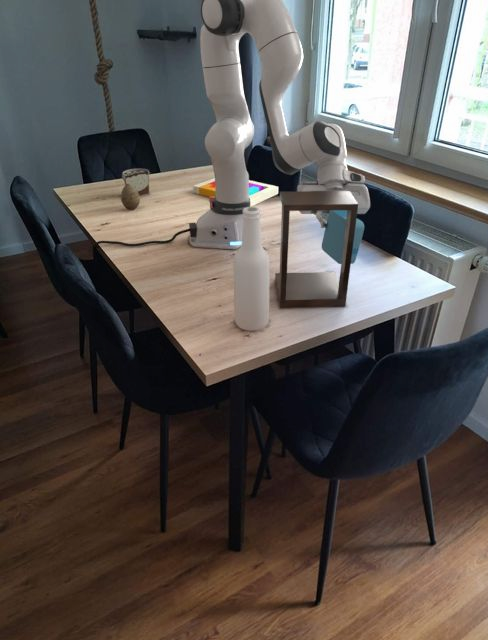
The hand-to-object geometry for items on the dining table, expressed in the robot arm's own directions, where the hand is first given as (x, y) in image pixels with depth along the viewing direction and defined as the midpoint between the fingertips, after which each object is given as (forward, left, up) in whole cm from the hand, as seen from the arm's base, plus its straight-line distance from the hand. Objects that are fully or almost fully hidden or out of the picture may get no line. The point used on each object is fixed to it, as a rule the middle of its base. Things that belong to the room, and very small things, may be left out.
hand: (335, 227), depth 137 cm
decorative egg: (-69, +62, -16) cm, 94 cm away
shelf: (-8, -9, -16) cm, 20 cm away
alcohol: (-25, -24, -16) cm, 38 cm away
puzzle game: (-30, +77, -16) cm, 84 cm away
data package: (0, -4, -7) cm, 9 cm away
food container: (-70, +80, -16) cm, 107 cm away
